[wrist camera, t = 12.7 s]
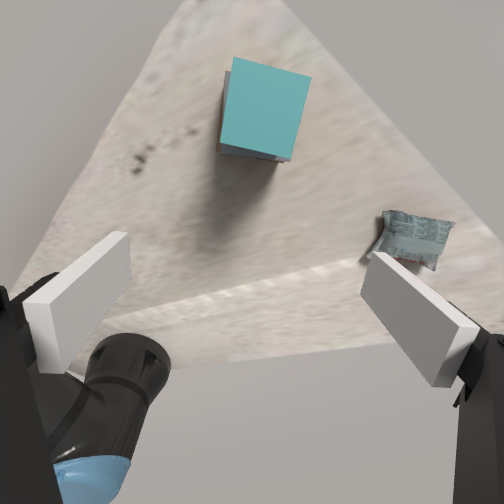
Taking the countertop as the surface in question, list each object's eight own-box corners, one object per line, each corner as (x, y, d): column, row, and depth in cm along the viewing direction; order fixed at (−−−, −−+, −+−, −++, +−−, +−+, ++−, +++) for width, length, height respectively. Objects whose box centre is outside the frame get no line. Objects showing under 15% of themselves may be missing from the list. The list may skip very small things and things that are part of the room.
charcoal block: (223, 150, 36) (220, 153, 32) (227, 79, 33) (225, 71, 29) (284, 157, 37) (290, 161, 32) (294, 88, 34) (302, 81, 29)
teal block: (226, 138, 31) (219, 142, 23) (236, 77, 29) (233, 56, 21) (278, 151, 32) (290, 158, 24) (292, 91, 30) (311, 77, 21)
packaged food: (424, 264, 50) (442, 277, 45) (360, 253, 48) (373, 265, 44) (446, 217, 46) (468, 226, 42) (379, 204, 45) (394, 212, 41)
